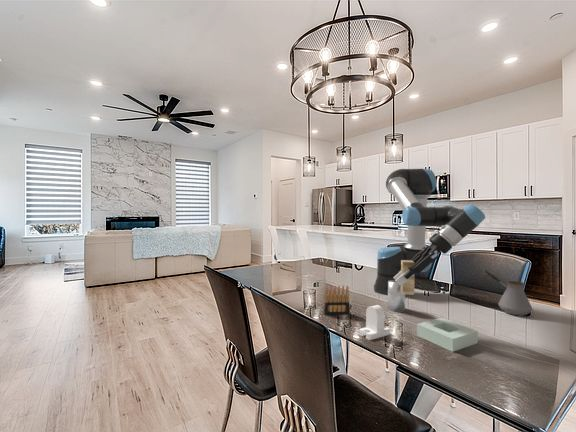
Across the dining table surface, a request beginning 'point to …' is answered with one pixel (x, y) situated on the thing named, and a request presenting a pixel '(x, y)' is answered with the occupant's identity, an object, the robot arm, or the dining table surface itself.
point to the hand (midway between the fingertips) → (397, 281)
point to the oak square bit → (409, 285)
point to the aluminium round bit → (395, 297)
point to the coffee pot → (513, 298)
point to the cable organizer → (374, 323)
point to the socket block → (447, 334)
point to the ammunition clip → (336, 301)
